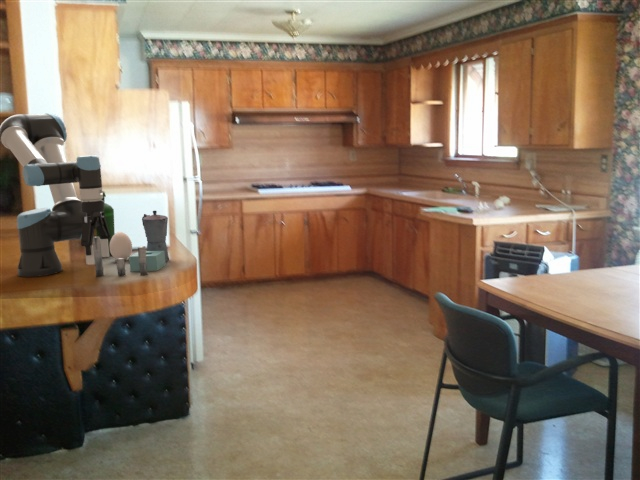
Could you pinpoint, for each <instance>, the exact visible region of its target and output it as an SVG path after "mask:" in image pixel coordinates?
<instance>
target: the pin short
mask: <svg viewBox="0 0 640 480" xmlns="http://www.w3.org/2000/svg"><path fill="white" fill-rule="evenodd" d="M115 260H116V269H117V276H118V277H123V276H124V275H125V276H126V265H125V260H124V258H118V259H115Z"/></svg>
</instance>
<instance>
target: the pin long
mask: <svg viewBox="0 0 640 480" xmlns="http://www.w3.org/2000/svg"><path fill="white" fill-rule="evenodd" d="M93 248H94V258H95V264H94V267H95V277H96V278H97V277H98V278H99V277H104V264H103V257H102V253H101V243H100V237H99V236H97V237H93Z"/></svg>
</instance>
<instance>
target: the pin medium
mask: <svg viewBox="0 0 640 480" xmlns="http://www.w3.org/2000/svg"><path fill="white" fill-rule="evenodd" d="M146 251H147V248H146V246H143V245H141V246H138V247H137V252H138V257H139V269H140V271H139V275H140V276H148V271H147V261H146Z"/></svg>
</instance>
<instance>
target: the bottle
mask: <svg viewBox="0 0 640 480" xmlns="http://www.w3.org/2000/svg"><path fill="white" fill-rule="evenodd" d="M105 199H106V192H105V191H104V192H103V198H102V200H103V201H104V210H103V211H100V212H105V218H106V222H107V225H108V228H109V232H110V238H109V239H108V246H109V245H110V241H111V238H112V237H113V235H114V234H116V233H115V211H114V208H113V207H112V206H111V205H110V204H108V203H107V202H105ZM97 236H99V237H100V235H99V233H98V231H97V229H95V231H94V236H93V237H97ZM100 239H101V237H100ZM92 245H93V241H92ZM109 256H110V257H111V256H112V255H111V252H110V247H109Z"/></svg>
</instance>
